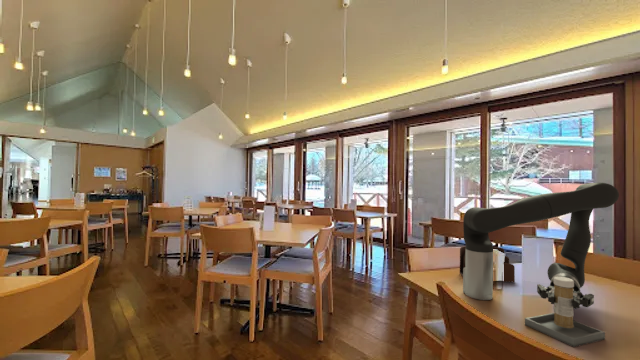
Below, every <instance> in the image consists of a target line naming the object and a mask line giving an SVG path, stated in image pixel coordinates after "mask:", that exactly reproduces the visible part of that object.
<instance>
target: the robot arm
mask: <svg viewBox="0 0 640 360" xmlns="http://www.w3.org/2000/svg"><path fill="white" fill-rule="evenodd" d="M619 196H620V192H619V190H618V189H617V188H616V187H615V186H614V185H612V184H610V183H607V182H590V183H584V184H580V185H578V187H577V188H575V190H571V191H561V192H559V191H558V192H548V193H543V194H537V195H533V196H528V197H524V198H521V199H519V200H517V201H515V202H513V203H511V204H508V205H505V206H500V207H499V206H498V207H493V208H492V207H491V208H490V207H489V208H488V207H487V208H485V207H478V206H476V207H475V206H474V207H470V208H468V209H467V210H466V211H465V213H464V215H463V224H462V225H463V227H462V228H463V241H464V245H465V246H466V260H465V267H464V268H463V276H462V293H463V294H465V295H466V296H467V297H469V298H471V299H475V300H481V301H489V300H492V299H493V297H494V296H493V293H494V292H493V291H494V289H493V288H494V287H493V286H494V285H493V284H494V281H493V247H494V244H493V243H492V241H491V239H490V236H489V233H493V232H495V231H498V230H501V229H504V228H509V227H512V226H515V225H516V226H517V225H522V224H531V223H535V222H541V221H545V220H550V219H555V218H558V217H560V216H566V215H568V214H570V219H569V226H568V230H567V233H566V236H565V239H564V242H563V244H562V248H561V251H560V256H561V257H563V258H564V259H566V260H568V261H570V263H573V265H574V267H572V266H569V265H566V264H563V263H560V262H554V263H551V264H550V265H549V266H548V268H547V278H548V280H549V281H550V284H549V285H548V286H547V287H545V286H543V285H542V284H541V283H537V286H536V292H537V294H538V295H539V297H540V298H542V299H545V300H546V299H547V302H549V303H550V304H551V305H554V277H566V278H570V279H572V280H573V281H574V287H573V309H574V310H577V309H580V308H581V306H582V307H584V308H589V307H590V306H592V305H594V304H595V295H594V294H593V293H588V294H587V293H585V294H583V292H582V291H581V289H582V288H583V286H584V285H585V283H586V282H585V281H586V279H585V277H586V275H585V263H586V258H587V255H588V253H589V250H590V246H591V243H592V242H591V241H592V236H591V235H592V234H591V229H590V217H591V215H592V213H593V211H594V210H596V209H604V208H605V209H606V208H609V207H611V206H613V205H615V204H616V202H617V201H618V200H619Z"/></svg>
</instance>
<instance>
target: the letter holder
mask: <svg viewBox="0 0 640 360" xmlns="http://www.w3.org/2000/svg"><path fill="white" fill-rule="evenodd" d="M493 249H498V250H499V251H501V252H503V253H504V254H505V249H504V248H503V247H499V246H493ZM504 256H505V262H504V282H503V283H515V282H516V279H515V275H516V274H515V265H514V264H512V263H510V257H508V256H507V255H504ZM465 260H466V245H465V246H464V245H463V246H461V247H460V248H459V275H460V274H461V275H460V276H462V277H463V268H464V267H465Z"/></svg>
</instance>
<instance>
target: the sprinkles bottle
mask: <svg viewBox="0 0 640 360" xmlns="http://www.w3.org/2000/svg"><path fill="white" fill-rule="evenodd" d="M573 287H574V281H573V280H572V279H570V278H566V277H554V304H553V313H554V323H555V324H556V325H558V326H560V327H564V328H573V327H574V325H573V320H574V313H575V312H574V310H575V309H573Z"/></svg>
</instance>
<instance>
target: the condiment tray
mask: <svg viewBox="0 0 640 360" xmlns="http://www.w3.org/2000/svg"><path fill="white" fill-rule="evenodd" d="M524 325H525V326H526V327H528V328H531V329H533V330H535V331H537V332H539V333H542V334H544V335H547V336H548V337H551V338H553V339H555V340H556V341H560V342H562V343H563V344H566V345H568V346H570V347H573V348H575V347H576V346H577V347H580V346H579V345H581V346H584V345H583V344H585V345H588V344H587V343H589V344H593V343H596V342H601V341H604V340H606V332H605V331H604V330H600V329H598V328H596V327H592V326H590V325H587V324H585V323H582V322H580V321H577V320H574V319H573V325H574V327H573V328H564V327H560V326H558V325H556V324H555V323H554V312H550V313H545V314H541V315H539V314H538V315H535V316H528V317H524Z"/></svg>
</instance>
